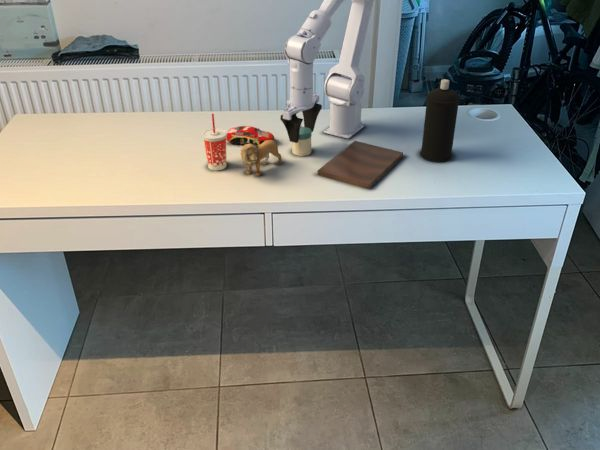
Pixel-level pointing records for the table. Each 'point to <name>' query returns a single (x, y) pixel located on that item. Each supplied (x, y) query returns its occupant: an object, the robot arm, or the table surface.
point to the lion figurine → (259, 154)
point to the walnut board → (361, 164)
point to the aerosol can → (440, 123)
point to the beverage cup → (215, 147)
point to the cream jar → (303, 142)
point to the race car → (248, 135)
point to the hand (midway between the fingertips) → (301, 136)
